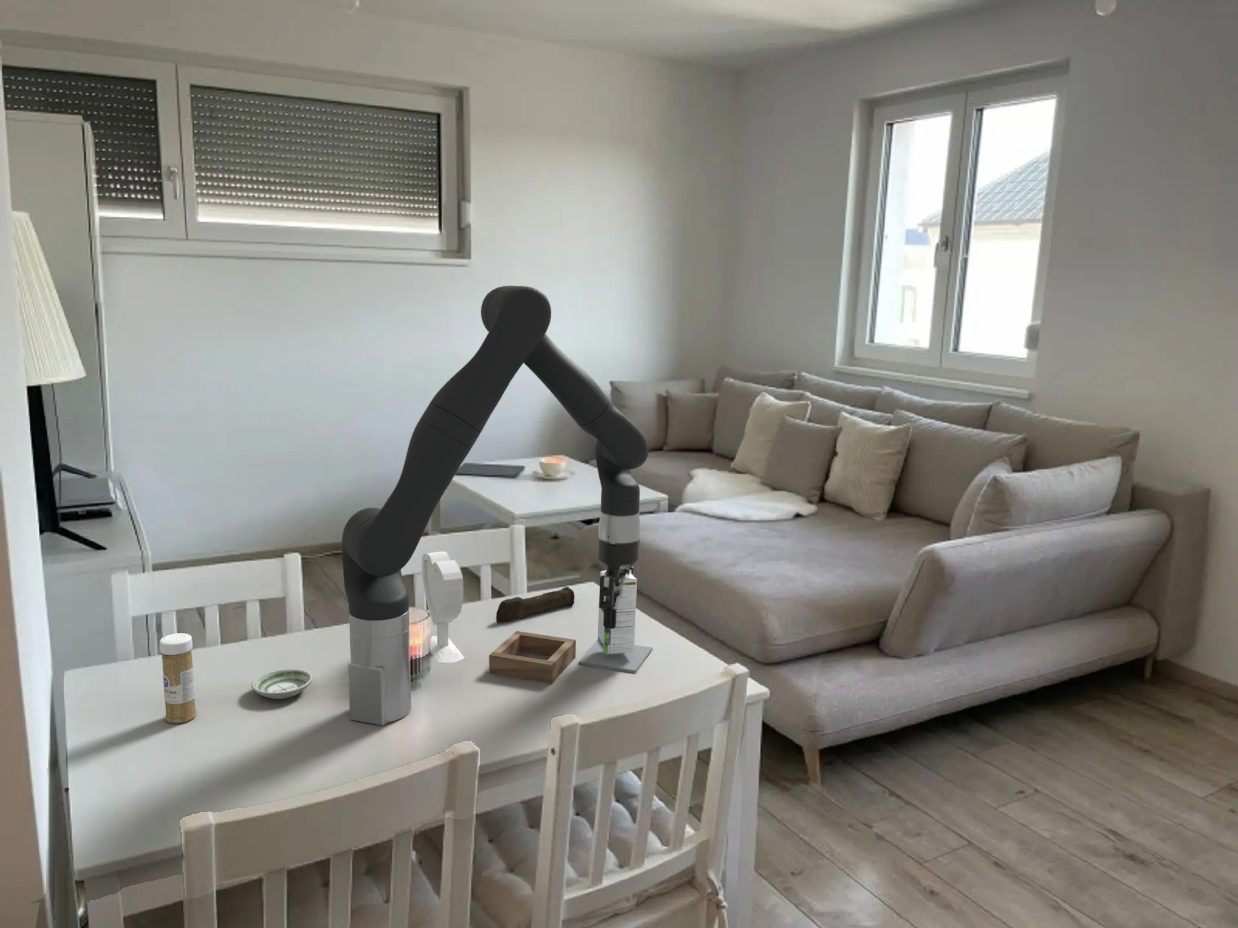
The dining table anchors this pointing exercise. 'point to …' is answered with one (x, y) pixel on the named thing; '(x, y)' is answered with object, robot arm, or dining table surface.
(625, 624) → the white drink carton
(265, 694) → the saucer
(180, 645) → the sprinkles bottle
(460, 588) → the heart sculpture
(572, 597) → the hand tool
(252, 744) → the dining table surface
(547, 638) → the collar
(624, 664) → the mat
